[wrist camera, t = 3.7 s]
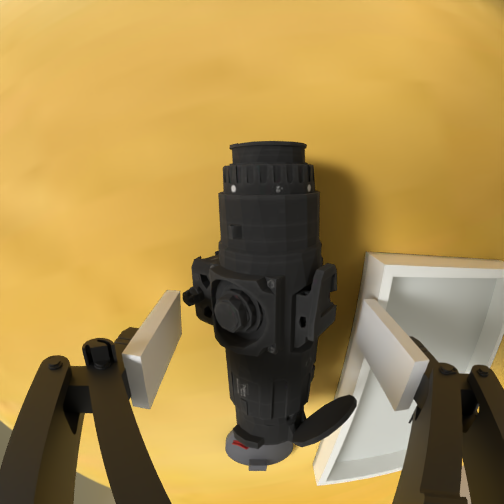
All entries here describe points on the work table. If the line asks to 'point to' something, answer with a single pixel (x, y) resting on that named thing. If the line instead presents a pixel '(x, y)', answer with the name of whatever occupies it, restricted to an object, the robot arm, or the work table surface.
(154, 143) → the work table surface
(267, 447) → the lens cap
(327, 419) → the night vision scope
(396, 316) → the tray
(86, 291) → the work table surface
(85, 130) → the work table surface
